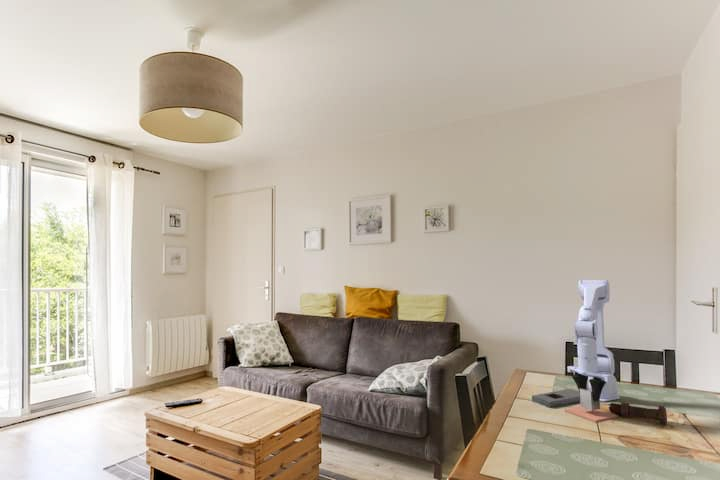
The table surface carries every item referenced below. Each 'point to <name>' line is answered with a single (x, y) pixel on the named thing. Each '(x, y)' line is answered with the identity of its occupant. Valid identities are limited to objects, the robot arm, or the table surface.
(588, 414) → the mat
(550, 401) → the block
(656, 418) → the bolt
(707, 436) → the table surface
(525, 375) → the table surface
